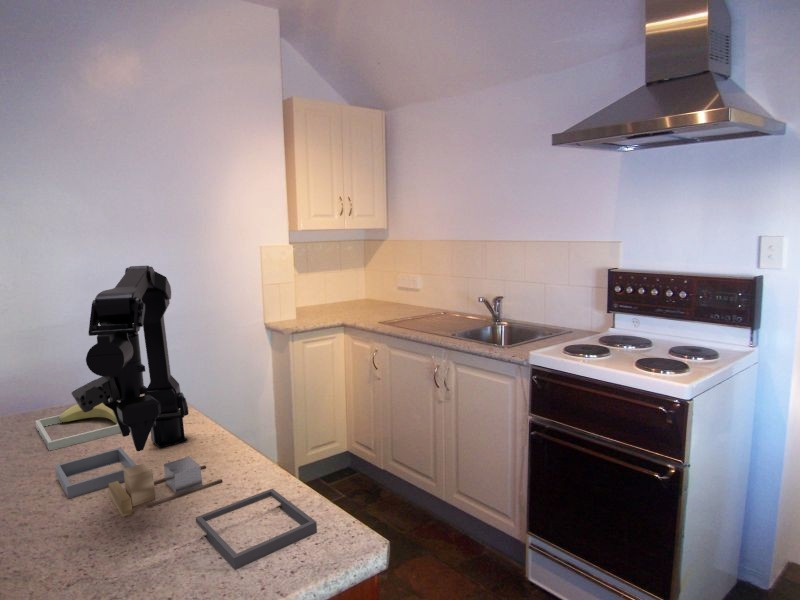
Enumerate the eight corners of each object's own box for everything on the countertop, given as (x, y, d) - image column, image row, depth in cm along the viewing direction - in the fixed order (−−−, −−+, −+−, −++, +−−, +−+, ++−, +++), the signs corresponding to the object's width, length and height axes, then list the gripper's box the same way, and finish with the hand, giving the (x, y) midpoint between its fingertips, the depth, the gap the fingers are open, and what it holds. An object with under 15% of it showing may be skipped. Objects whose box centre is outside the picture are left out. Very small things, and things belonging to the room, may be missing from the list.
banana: (105, 384, 155) (136, 408, 142) (112, 401, 157) (143, 426, 144) (53, 409, 146) (81, 437, 133) (61, 426, 149) (89, 455, 136)
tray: (122, 462, 123) (120, 447, 123) (139, 482, 114) (137, 466, 113) (56, 481, 115) (54, 465, 115) (69, 504, 106) (66, 487, 105)
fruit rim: (140, 403, 161) (139, 397, 161) (162, 421, 147) (161, 414, 146) (36, 427, 145) (35, 420, 145) (49, 450, 130) (48, 442, 130)
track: (205, 472, 117) (203, 454, 117) (223, 487, 110) (221, 468, 110) (94, 508, 104) (92, 488, 103) (106, 528, 97) (104, 507, 96)
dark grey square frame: (273, 498, 106) (272, 488, 105) (317, 532, 94) (316, 521, 94) (196, 527, 96) (195, 517, 96) (234, 570, 85) (233, 558, 84)
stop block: (149, 491, 107) (145, 462, 107) (155, 499, 104) (152, 469, 104) (126, 499, 105) (123, 469, 104) (132, 507, 102) (129, 476, 101)
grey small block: (191, 474, 114) (189, 456, 113) (202, 485, 109) (200, 466, 108) (165, 483, 110) (163, 464, 110) (176, 494, 106) (174, 474, 105)
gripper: (63, 360, 103) (73, 440, 105) (84, 381, 88) (95, 474, 91) (128, 349, 110) (136, 425, 112) (157, 367, 95) (166, 453, 98)
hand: (132, 443), depth 103 cm, fingers open, 9 cm apart
